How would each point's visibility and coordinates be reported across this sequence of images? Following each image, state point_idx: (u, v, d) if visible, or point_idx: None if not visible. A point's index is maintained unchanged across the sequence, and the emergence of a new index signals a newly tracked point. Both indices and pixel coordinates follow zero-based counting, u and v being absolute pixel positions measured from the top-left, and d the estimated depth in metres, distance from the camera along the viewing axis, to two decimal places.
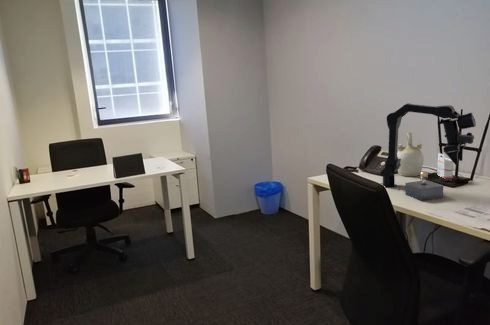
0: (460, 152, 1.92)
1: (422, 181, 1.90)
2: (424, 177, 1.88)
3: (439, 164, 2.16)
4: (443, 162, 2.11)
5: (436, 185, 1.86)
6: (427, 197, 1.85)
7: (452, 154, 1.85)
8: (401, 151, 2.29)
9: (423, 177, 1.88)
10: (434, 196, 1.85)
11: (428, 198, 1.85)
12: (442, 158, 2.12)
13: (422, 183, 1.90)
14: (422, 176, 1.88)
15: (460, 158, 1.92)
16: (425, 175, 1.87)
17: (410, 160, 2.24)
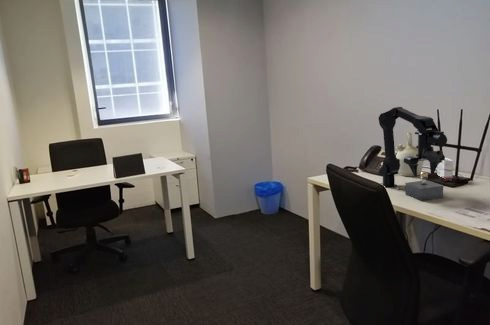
0: (433, 166, 1.89)
1: (422, 181, 1.90)
2: (424, 177, 1.88)
3: (439, 164, 2.16)
4: (443, 162, 2.11)
5: (436, 185, 1.86)
6: (427, 197, 1.85)
7: (412, 166, 1.87)
8: (401, 151, 2.29)
9: (423, 177, 1.88)
10: (434, 196, 1.85)
11: (428, 198, 1.85)
12: None
13: (422, 183, 1.90)
14: (422, 176, 1.88)
15: (432, 172, 1.90)
16: (425, 175, 1.87)
17: None
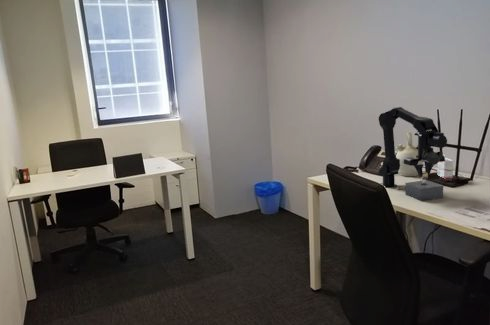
0: (428, 168, 1.88)
1: (422, 181, 1.90)
2: (424, 177, 1.88)
3: (439, 164, 2.16)
4: (443, 162, 2.11)
5: (436, 185, 1.86)
6: (427, 197, 1.85)
7: (418, 166, 1.88)
8: (401, 151, 2.29)
9: (423, 177, 1.88)
10: (434, 196, 1.85)
11: (428, 198, 1.85)
12: None
13: (422, 183, 1.90)
14: (422, 176, 1.88)
15: None
16: (425, 175, 1.87)
17: None
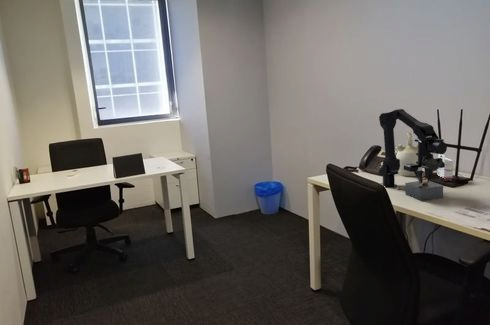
0: (428, 174, 1.89)
1: None
2: (424, 183, 1.88)
3: None
4: None
5: (436, 185, 1.86)
6: (427, 197, 1.85)
7: (418, 173, 1.89)
8: (401, 151, 2.29)
9: (423, 183, 1.88)
10: (434, 196, 1.85)
11: (428, 198, 1.85)
12: (442, 158, 2.12)
13: None
14: (422, 182, 1.89)
15: None
16: (425, 181, 1.88)
17: (410, 160, 2.24)
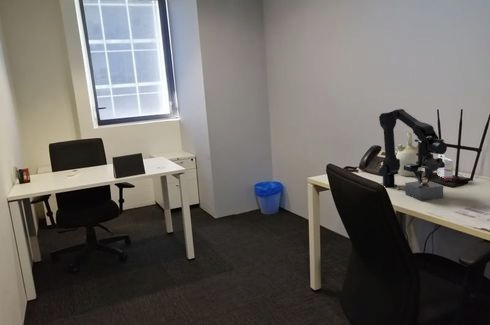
0: (428, 174, 1.89)
1: None
2: (424, 183, 1.88)
3: None
4: None
5: (436, 185, 1.86)
6: (427, 197, 1.85)
7: (417, 173, 1.89)
8: (401, 151, 2.29)
9: (423, 183, 1.88)
10: (434, 196, 1.85)
11: (428, 198, 1.85)
12: (442, 158, 2.12)
13: None
14: (422, 182, 1.89)
15: None
16: (425, 181, 1.88)
17: (410, 160, 2.24)
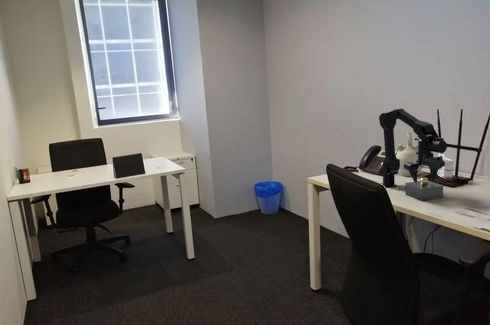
0: (433, 172, 1.89)
1: None
2: (424, 183, 1.88)
3: None
4: None
5: (436, 185, 1.86)
6: (427, 197, 1.85)
7: (412, 172, 1.88)
8: (401, 151, 2.29)
9: (423, 183, 1.88)
10: (434, 196, 1.85)
11: (428, 198, 1.85)
12: None
13: None
14: (422, 182, 1.89)
15: (432, 178, 1.90)
16: (425, 181, 1.88)
17: (410, 160, 2.24)
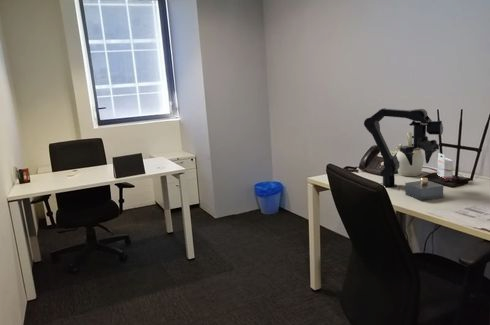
0: (428, 155, 2.01)
1: None
2: (424, 183, 1.88)
3: (439, 164, 2.16)
4: (443, 162, 2.11)
5: (436, 185, 1.86)
6: (427, 197, 1.85)
7: (408, 155, 1.99)
8: None
9: (423, 183, 1.88)
10: (434, 196, 1.85)
11: (428, 198, 1.85)
12: (442, 158, 2.12)
13: None
14: (422, 182, 1.89)
15: (426, 161, 2.02)
16: (425, 181, 1.88)
17: None
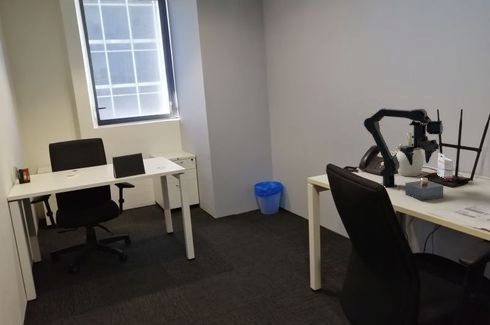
0: (428, 155, 2.01)
1: None
2: (424, 183, 1.88)
3: (439, 164, 2.16)
4: (443, 162, 2.11)
5: (436, 185, 1.86)
6: (427, 197, 1.85)
7: (408, 155, 1.99)
8: None
9: (423, 183, 1.88)
10: (434, 196, 1.85)
11: (428, 198, 1.85)
12: (442, 158, 2.12)
13: None
14: (422, 182, 1.89)
15: (426, 160, 2.02)
16: (425, 181, 1.88)
17: None
